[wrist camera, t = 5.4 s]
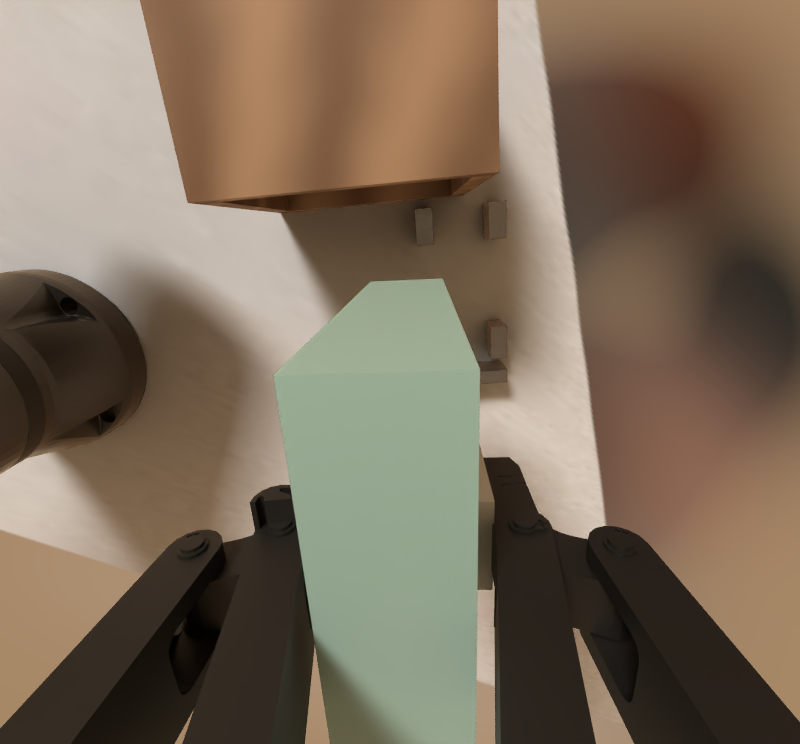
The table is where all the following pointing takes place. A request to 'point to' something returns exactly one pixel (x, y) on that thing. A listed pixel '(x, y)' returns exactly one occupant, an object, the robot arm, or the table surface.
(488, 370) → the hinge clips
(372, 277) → the table surface
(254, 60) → the cabinet
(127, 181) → the table surface
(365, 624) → the door
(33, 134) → the table surface
